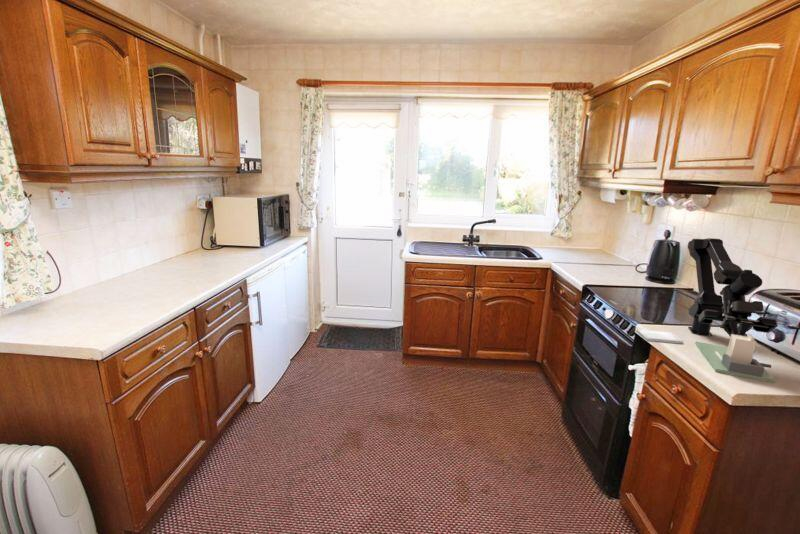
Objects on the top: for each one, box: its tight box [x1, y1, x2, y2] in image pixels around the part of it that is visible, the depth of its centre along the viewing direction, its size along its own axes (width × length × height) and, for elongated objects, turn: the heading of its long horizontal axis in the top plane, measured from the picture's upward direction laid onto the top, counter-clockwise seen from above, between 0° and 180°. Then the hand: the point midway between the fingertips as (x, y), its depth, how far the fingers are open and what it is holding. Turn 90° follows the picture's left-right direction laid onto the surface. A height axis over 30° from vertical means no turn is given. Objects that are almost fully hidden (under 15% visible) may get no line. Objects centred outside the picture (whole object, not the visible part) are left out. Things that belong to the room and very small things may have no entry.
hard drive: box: [635, 329, 684, 345], centre depth 141 cm, size 2×8×12 cm
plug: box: [726, 333, 772, 369], centre depth 118 cm, size 4×10×10 cm, turn 66°
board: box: [694, 341, 776, 383], centre depth 124 cm, size 22×14×2 cm, turn 156°
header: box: [721, 354, 765, 377], centre depth 116 cm, size 6×8×3 cm
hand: (738, 345), depth 120 cm, fingers closed, pressing on plug
